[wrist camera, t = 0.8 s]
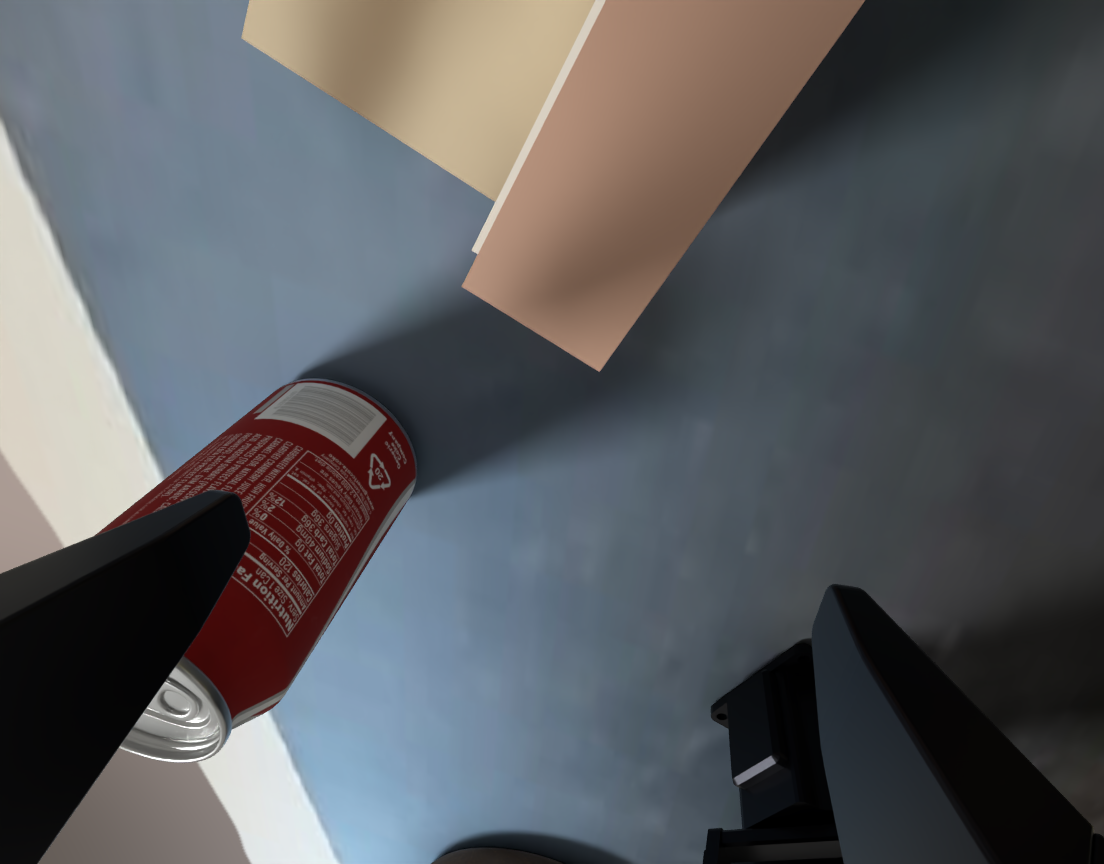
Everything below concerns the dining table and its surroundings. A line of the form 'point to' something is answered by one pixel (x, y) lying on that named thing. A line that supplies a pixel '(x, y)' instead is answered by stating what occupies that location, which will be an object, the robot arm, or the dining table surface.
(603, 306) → the block
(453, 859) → the plant saucer
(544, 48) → the tan wooden flat board
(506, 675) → the dining table surface
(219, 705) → the soda can
